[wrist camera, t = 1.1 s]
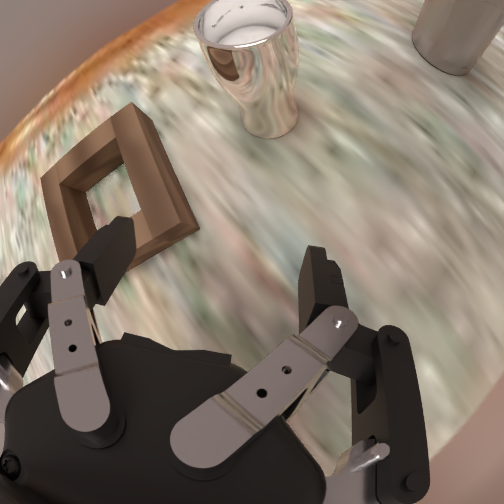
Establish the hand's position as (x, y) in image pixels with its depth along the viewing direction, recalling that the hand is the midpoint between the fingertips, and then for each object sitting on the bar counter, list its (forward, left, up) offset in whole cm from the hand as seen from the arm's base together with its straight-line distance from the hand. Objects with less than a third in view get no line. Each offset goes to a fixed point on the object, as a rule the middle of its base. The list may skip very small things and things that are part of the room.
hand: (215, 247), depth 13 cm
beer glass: (-15, -1, -16) cm, 22 cm away
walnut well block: (-4, -17, -16) cm, 24 cm away
